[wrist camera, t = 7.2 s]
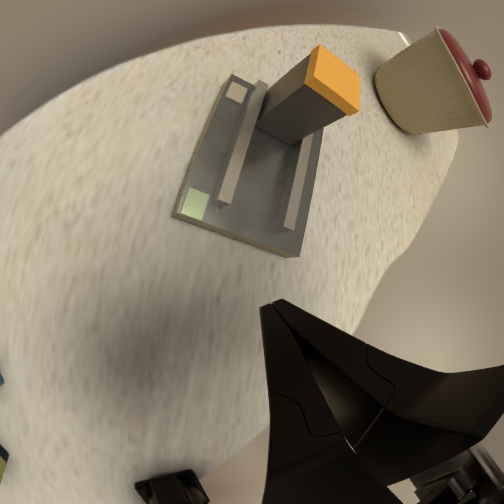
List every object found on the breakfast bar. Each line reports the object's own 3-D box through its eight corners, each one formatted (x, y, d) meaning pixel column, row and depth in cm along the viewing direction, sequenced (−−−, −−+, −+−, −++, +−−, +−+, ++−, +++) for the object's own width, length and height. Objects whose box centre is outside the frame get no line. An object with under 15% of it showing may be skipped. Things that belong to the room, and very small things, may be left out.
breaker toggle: (290, 147, 23) (359, 111, 16) (251, 125, 21) (313, 76, 14) (298, 114, 24) (359, 76, 17) (262, 92, 22) (319, 44, 15)
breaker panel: (285, 257, 25) (310, 257, 22) (170, 216, 20) (181, 208, 17) (311, 134, 27) (333, 123, 24) (223, 85, 22) (238, 65, 19)
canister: (343, 59, 32) (449, 3, 13) (387, 62, 40) (465, 27, 21) (397, 160, 36) (515, 131, 17) (426, 138, 44) (510, 116, 25)
